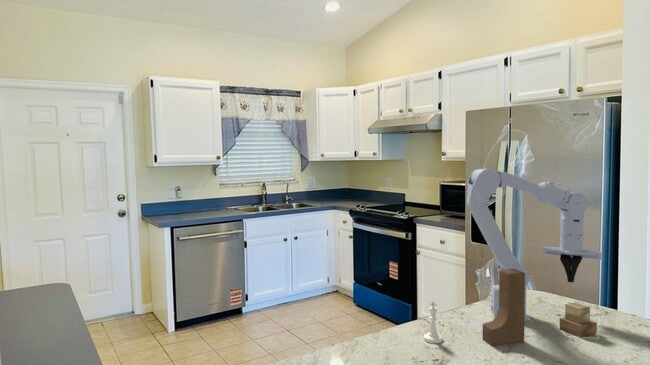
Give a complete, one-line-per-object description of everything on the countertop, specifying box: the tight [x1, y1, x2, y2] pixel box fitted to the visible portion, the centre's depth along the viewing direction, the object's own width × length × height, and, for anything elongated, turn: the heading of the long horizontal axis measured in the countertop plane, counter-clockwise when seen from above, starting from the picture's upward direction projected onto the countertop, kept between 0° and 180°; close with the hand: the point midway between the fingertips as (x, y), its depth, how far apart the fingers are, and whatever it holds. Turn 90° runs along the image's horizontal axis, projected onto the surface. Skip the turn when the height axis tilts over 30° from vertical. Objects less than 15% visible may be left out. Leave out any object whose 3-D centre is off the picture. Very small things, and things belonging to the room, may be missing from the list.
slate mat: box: [555, 324, 602, 340], centre depth 116 cm, size 15×11×1 cm
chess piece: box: [422, 300, 444, 344], centre depth 114 cm, size 5×5×10 cm
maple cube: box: [564, 301, 591, 324], centre depth 116 cm, size 4×4×4 cm
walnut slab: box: [559, 316, 598, 339], centre depth 116 cm, size 6×6×3 cm
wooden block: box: [482, 269, 526, 347], centre depth 111 cm, size 9×4×18 cm, turn 101°
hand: (570, 281), depth 128 cm, fingers closed
